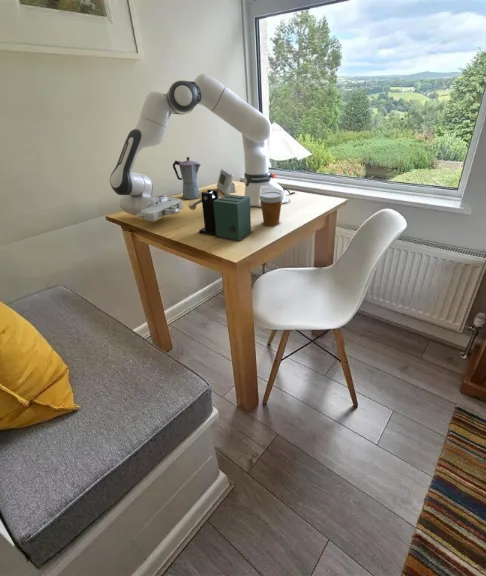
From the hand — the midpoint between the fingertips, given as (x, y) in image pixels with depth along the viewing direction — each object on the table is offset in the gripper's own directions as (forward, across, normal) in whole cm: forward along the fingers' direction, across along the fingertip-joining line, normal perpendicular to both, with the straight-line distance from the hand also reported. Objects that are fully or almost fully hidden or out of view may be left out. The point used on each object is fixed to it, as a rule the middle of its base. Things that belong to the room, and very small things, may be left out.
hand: (177, 211), depth 133 cm
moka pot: (-20, +35, +6) cm, 41 cm away
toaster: (+26, 0, +6) cm, 27 cm away
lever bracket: (+17, 0, +6) cm, 18 cm away
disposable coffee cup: (+35, +17, +6) cm, 39 cm away
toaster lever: (+13, 0, -4) cm, 14 cm away
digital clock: (-9, +52, +6) cm, 53 cm away
